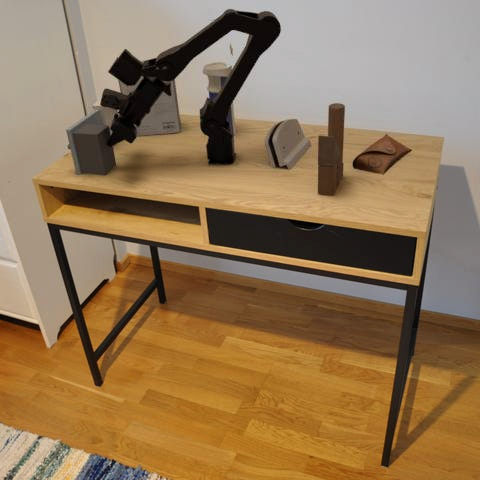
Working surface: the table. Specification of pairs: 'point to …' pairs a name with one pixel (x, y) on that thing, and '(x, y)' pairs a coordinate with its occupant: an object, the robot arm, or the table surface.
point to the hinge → (286, 143)
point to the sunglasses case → (380, 155)
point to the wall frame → (105, 113)
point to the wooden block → (331, 151)
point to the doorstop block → (94, 149)
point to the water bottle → (219, 84)
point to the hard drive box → (158, 112)
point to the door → (90, 119)
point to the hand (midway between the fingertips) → (108, 145)
